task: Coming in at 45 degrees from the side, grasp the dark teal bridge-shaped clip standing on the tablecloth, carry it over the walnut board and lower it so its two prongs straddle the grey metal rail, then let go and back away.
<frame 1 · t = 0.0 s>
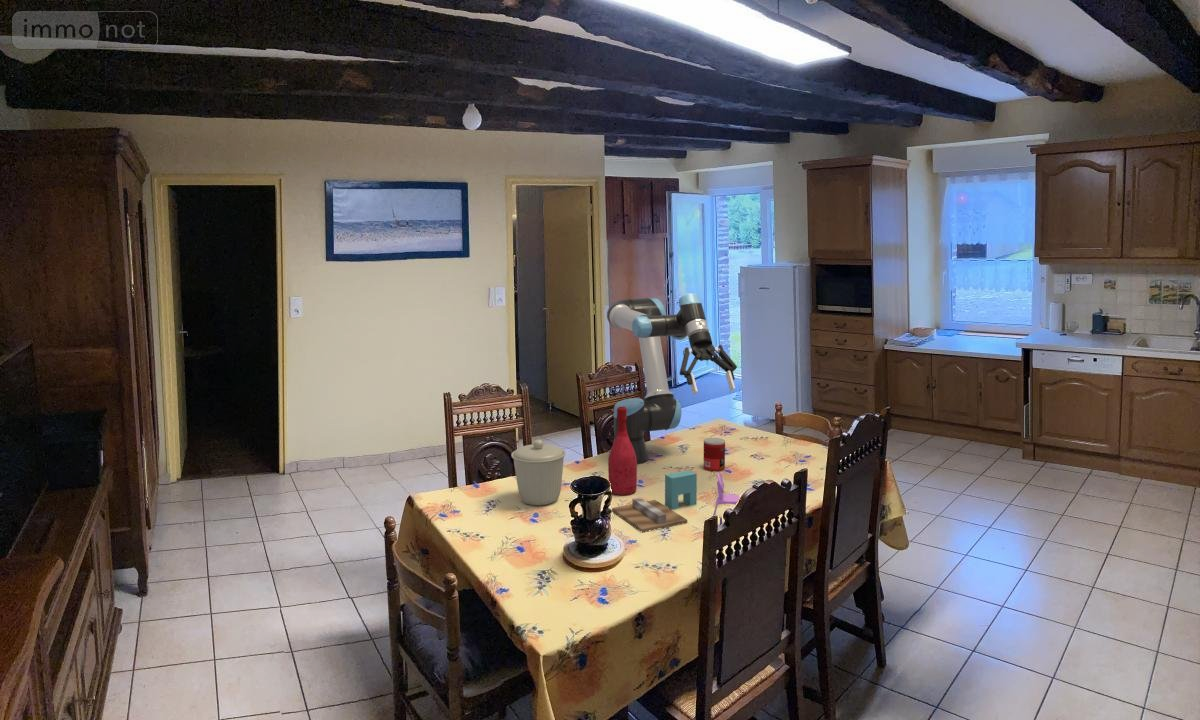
hand: (714, 391, 260), 36 cm above the table, tool tilted 35°, fingers open, 13 cm apart
clip: (680, 504, 258), on the table
toy chair: (726, 520, 244), on the table
canned food: (714, 469, 295), on the table
rail board: (648, 516, 248), on the table
wine bottle: (622, 491, 272), on the table
canister: (540, 500, 264), on the table
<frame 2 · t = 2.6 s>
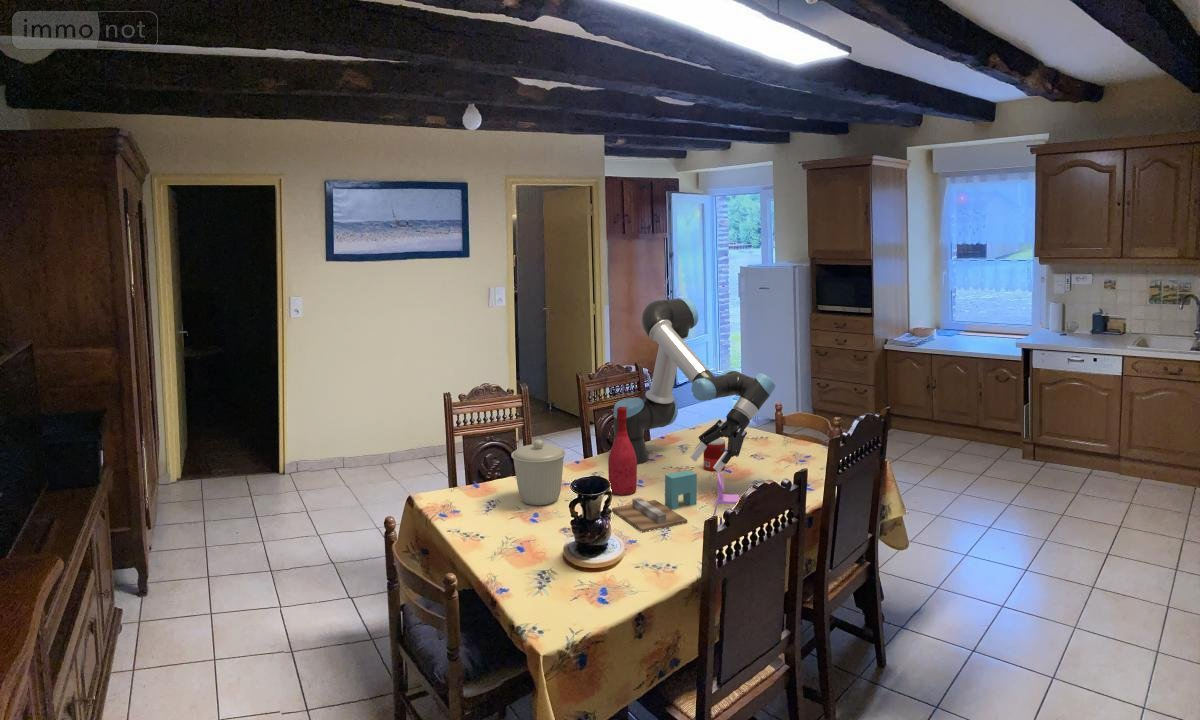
hand: (704, 464, 259), 13 cm above the table, tool tilted 45°, fingers open, 13 cm apart
nothing on the table moved.
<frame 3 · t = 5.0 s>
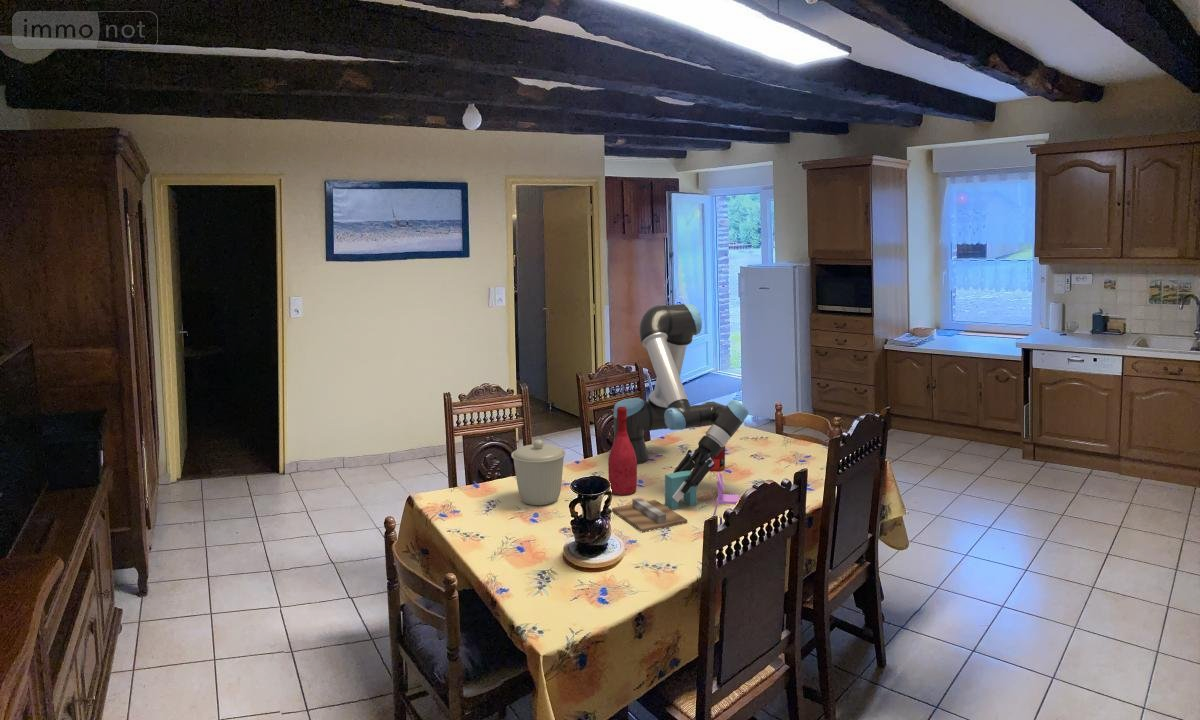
hand: (670, 497, 256), 3 cm above the table, tool tilted 45°, fingers closed on clip, 4 cm apart
clip: (680, 504, 258), on the table, touching gripper
everything else where it was.
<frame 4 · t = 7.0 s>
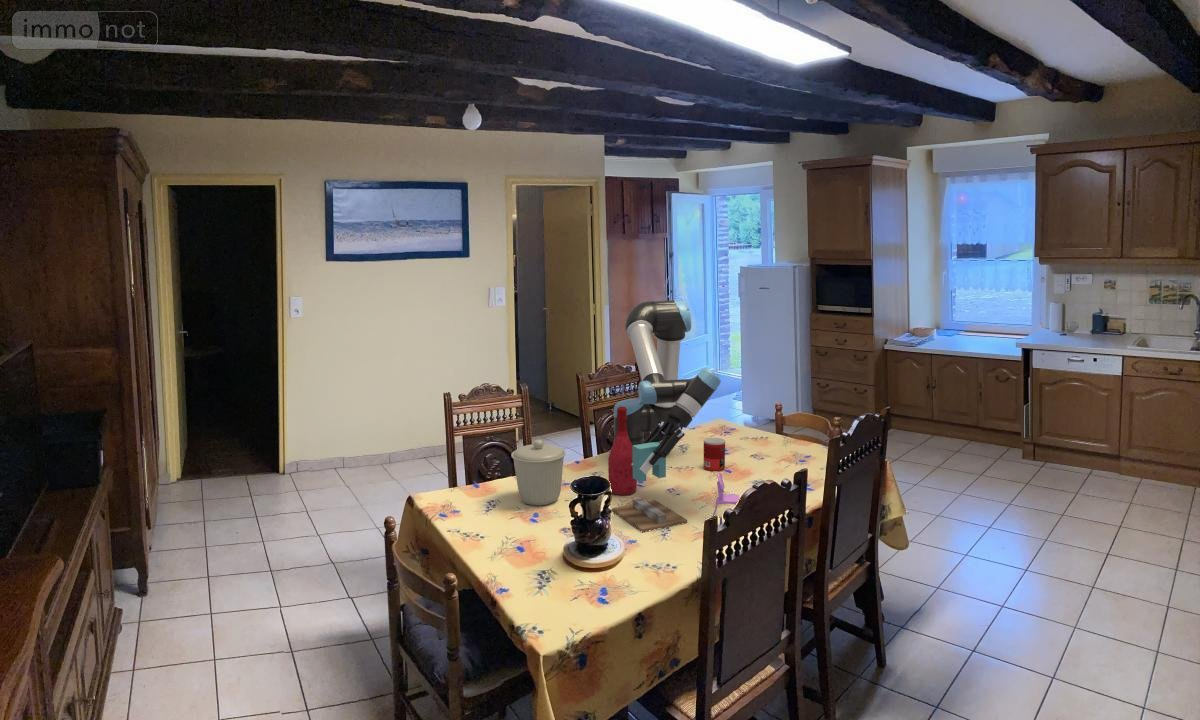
hand: (638, 469, 244), 16 cm above the table, tool tilted 45°, fingers closed on clip, 4 cm apart
clip: (649, 477, 246), point 13 cm above the table, touching gripper
everything else where it was.
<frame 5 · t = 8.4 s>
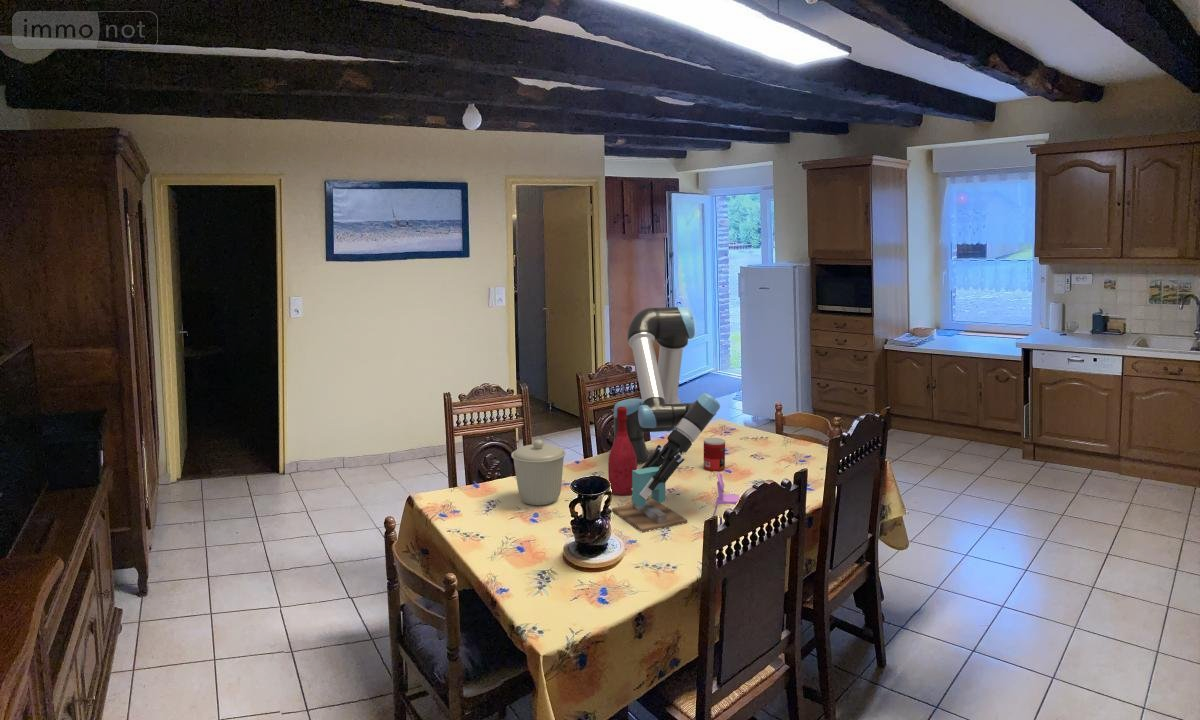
hand: (638, 494, 245), 8 cm above the table, tool tilted 45°, fingers closed on clip, 4 cm apart
clip: (649, 502, 247), point 5 cm above the table, touching gripper
everything else where it was.
when the fingers open (5 cm above the table, at t = 9.2 s): clip stays where it is, resting on rail board.
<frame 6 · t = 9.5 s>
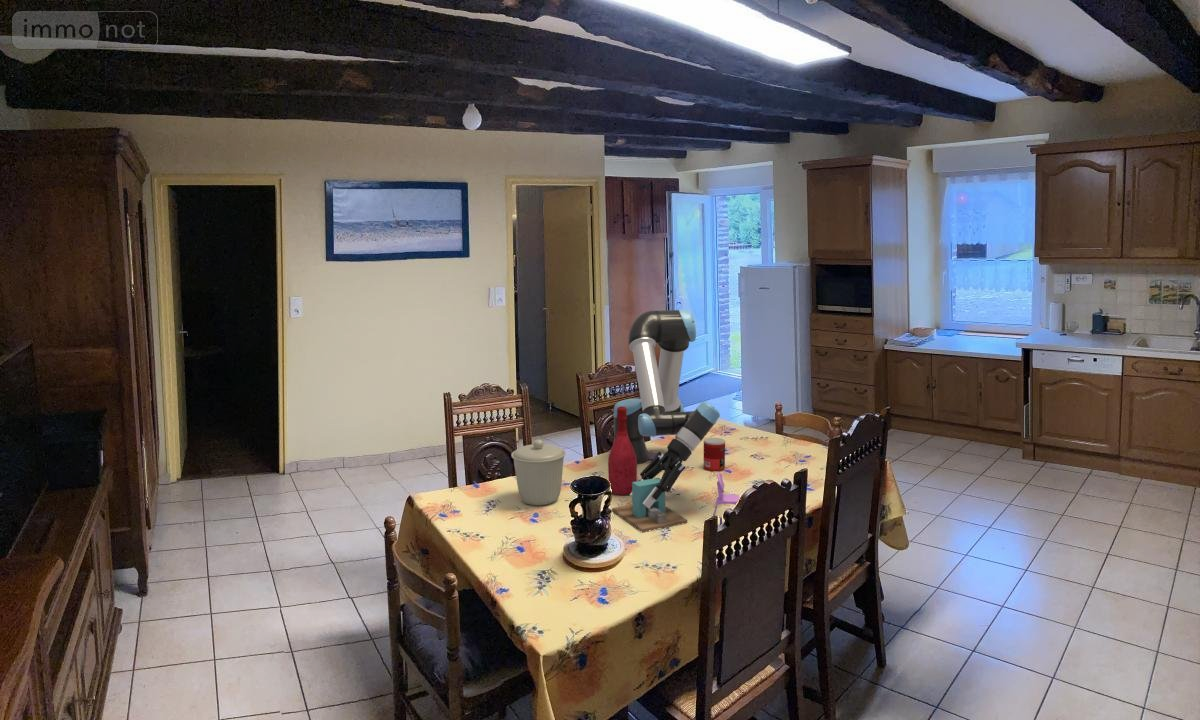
hand: (639, 501, 246), 6 cm above the table, tool tilted 45°, fingers open, 8 cm apart
clip: (648, 513, 248), point 1 cm above the table, touching rail board
everything else where it was.
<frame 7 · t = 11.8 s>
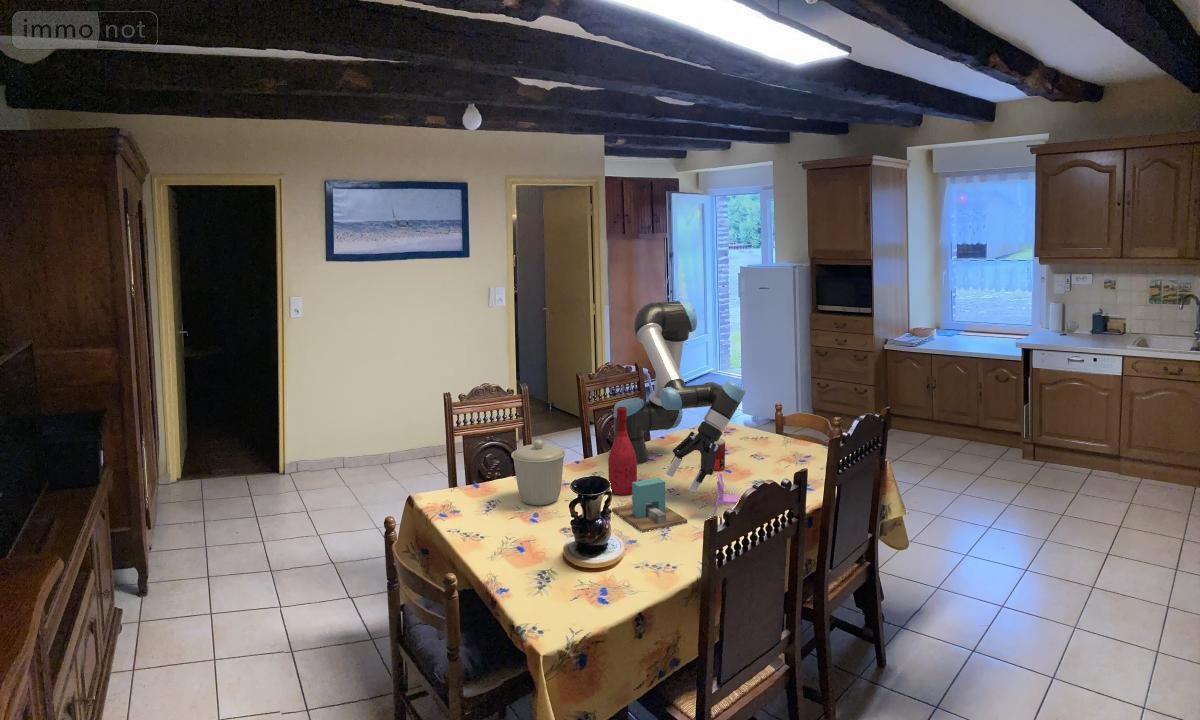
hand: (679, 482, 253), 9 cm above the table, tool tilted 35°, fingers open, 13 cm apart
nothing on the table moved.
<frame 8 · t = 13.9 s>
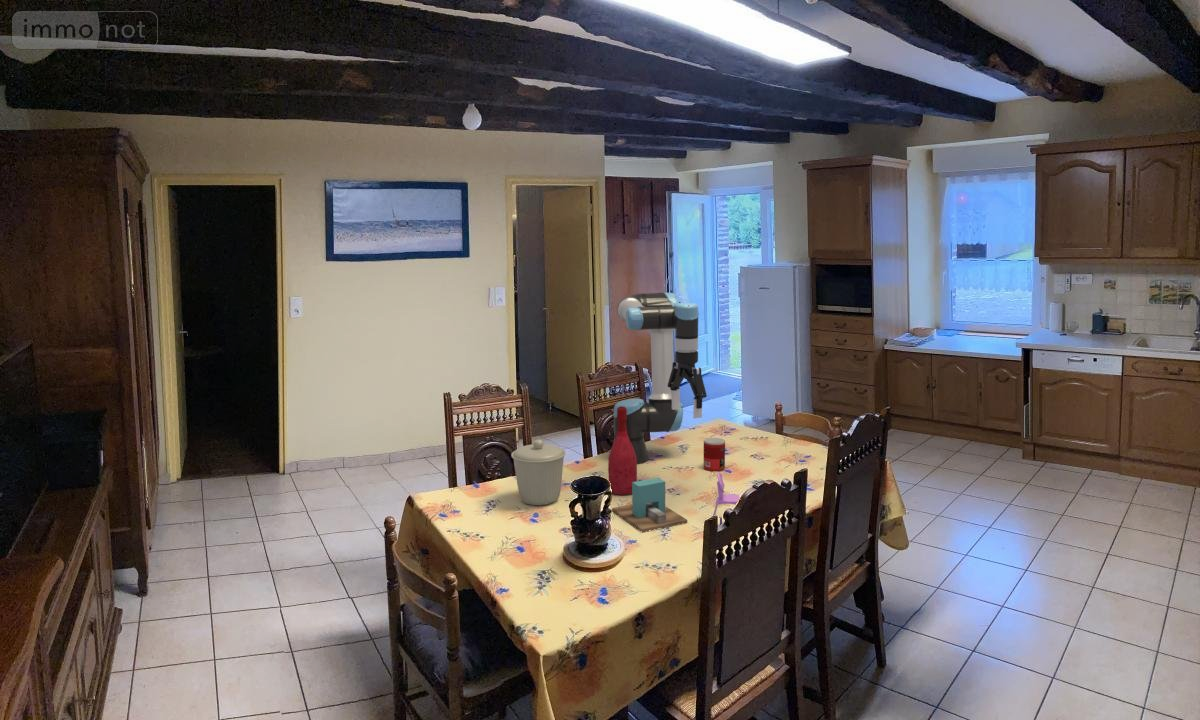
hand: (686, 413, 261), 29 cm above the table, tool pointing down, fingers open, 13 cm apart
nothing on the table moved.
at the end: clip 0.1 cm off-centre on the rail board, point 1.0 cm above the rail board's base; clip tilted 0°; the gripper is holding nothing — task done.
